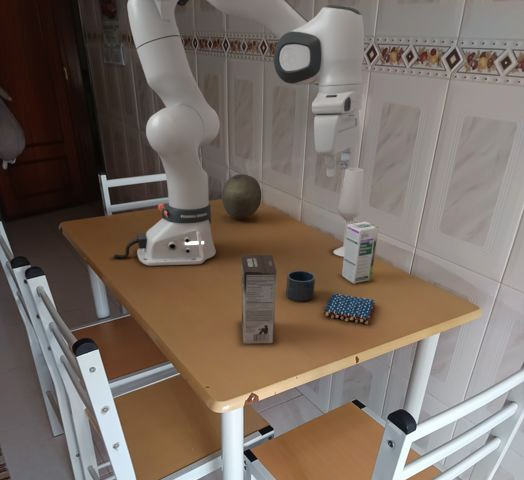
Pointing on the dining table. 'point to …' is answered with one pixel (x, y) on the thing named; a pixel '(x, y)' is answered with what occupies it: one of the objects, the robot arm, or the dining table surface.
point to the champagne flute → (350, 199)
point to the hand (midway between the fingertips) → (338, 172)
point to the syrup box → (359, 251)
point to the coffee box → (258, 298)
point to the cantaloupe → (241, 196)
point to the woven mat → (350, 308)
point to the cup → (300, 285)
